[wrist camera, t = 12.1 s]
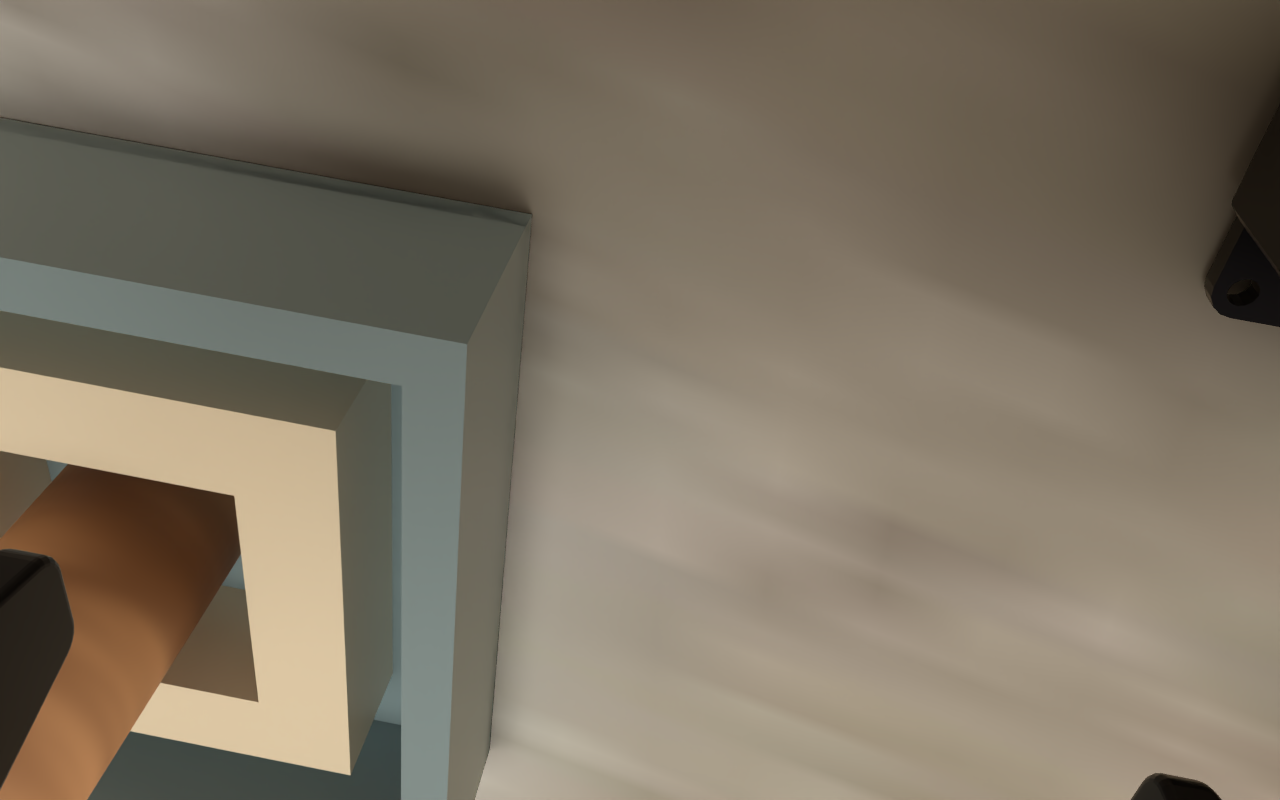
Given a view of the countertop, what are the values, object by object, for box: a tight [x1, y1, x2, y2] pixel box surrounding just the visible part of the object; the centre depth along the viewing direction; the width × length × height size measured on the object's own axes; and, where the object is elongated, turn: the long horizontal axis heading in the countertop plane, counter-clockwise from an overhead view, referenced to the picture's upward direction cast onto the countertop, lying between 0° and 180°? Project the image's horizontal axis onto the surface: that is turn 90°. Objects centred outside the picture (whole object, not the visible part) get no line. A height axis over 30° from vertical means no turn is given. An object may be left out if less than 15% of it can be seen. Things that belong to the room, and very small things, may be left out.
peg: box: [0, 464, 241, 800], centre depth 21 cm, size 4×4×9 cm
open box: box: [0, 118, 532, 800], centre depth 23 cm, size 15×16×4 cm
